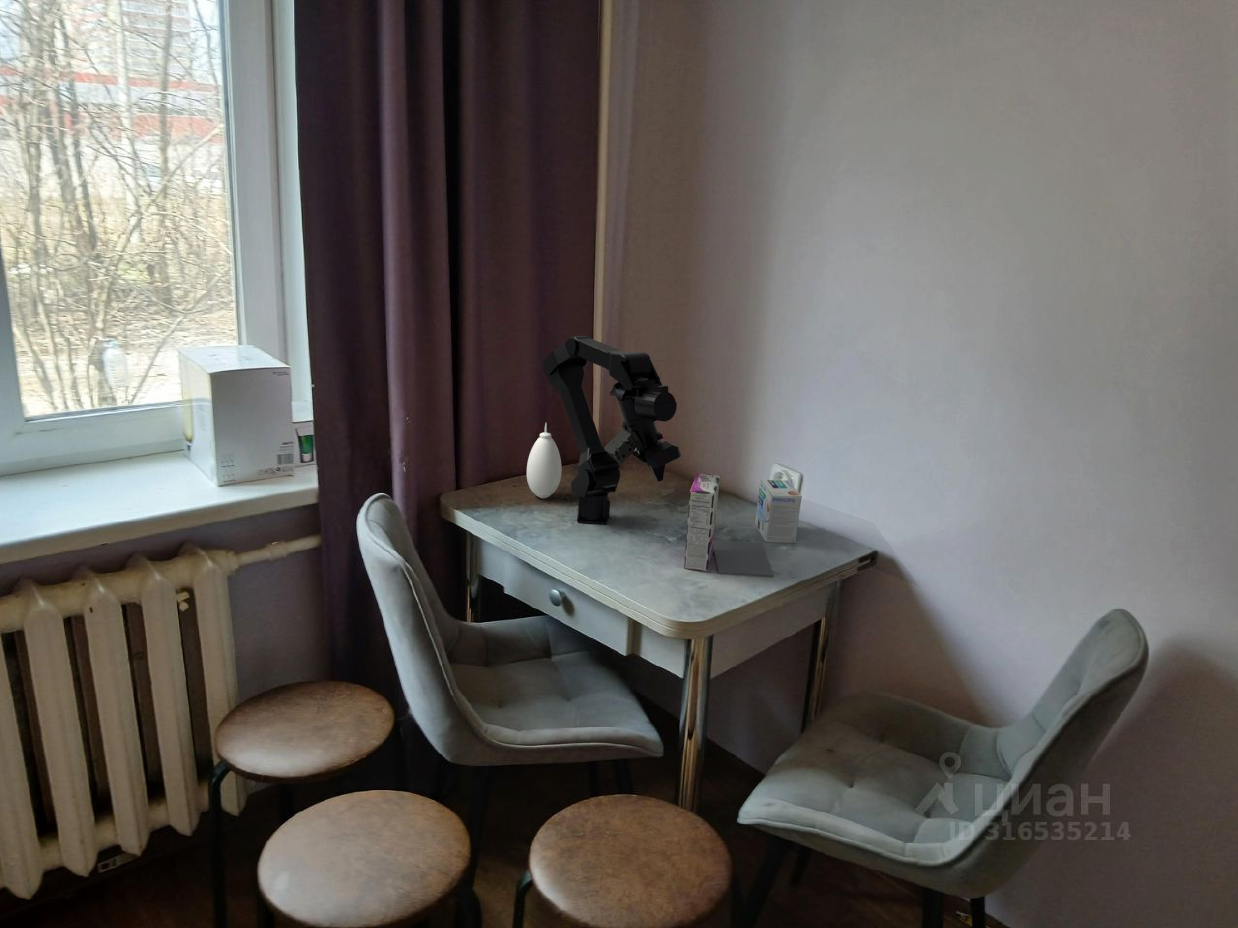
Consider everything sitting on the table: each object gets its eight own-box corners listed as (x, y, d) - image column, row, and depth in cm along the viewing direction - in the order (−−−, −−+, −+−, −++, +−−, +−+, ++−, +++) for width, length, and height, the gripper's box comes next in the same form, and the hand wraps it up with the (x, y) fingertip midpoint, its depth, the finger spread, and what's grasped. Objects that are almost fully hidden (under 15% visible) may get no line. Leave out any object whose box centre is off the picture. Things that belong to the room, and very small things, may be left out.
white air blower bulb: (566, 496, 203) (570, 422, 198) (546, 505, 197) (549, 428, 192) (540, 489, 207) (542, 416, 202) (519, 497, 201) (521, 422, 196)
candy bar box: (689, 547, 179) (696, 472, 174) (713, 551, 178) (721, 475, 173) (682, 569, 168) (689, 489, 163) (707, 572, 167) (715, 492, 162)
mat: (718, 573, 167) (718, 571, 167) (711, 541, 182) (711, 539, 182) (772, 576, 167) (773, 575, 167) (761, 544, 182) (761, 543, 182)
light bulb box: (754, 524, 194) (759, 478, 191) (783, 525, 195) (789, 479, 191) (765, 543, 184) (771, 495, 181) (796, 543, 184) (803, 496, 181)
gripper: (586, 420, 181) (610, 483, 187) (619, 443, 165) (644, 512, 171) (632, 398, 184) (654, 462, 190) (670, 419, 167) (692, 487, 173)
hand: (660, 480), depth 181 cm, fingers closed
